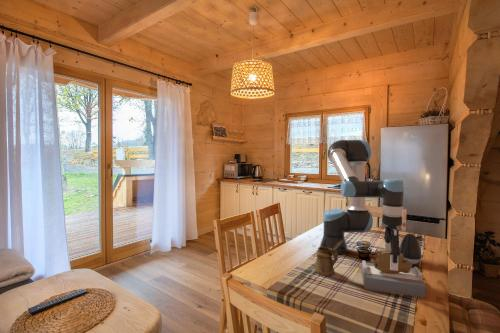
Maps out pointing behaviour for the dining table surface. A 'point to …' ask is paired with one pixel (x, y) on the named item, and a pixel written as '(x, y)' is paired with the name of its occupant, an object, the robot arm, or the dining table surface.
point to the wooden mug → (326, 260)
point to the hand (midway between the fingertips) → (390, 263)
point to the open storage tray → (393, 281)
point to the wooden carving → (384, 263)
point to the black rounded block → (411, 248)
